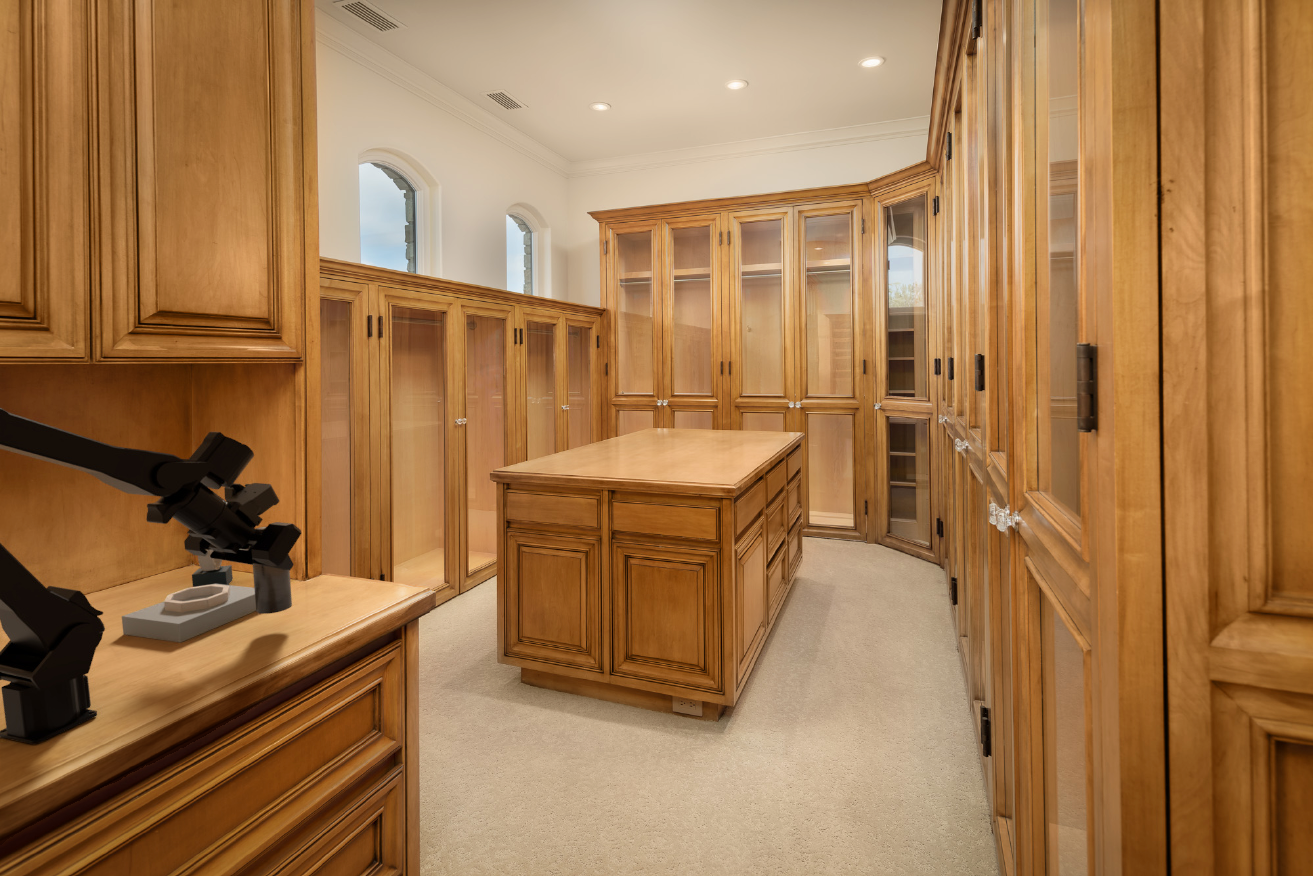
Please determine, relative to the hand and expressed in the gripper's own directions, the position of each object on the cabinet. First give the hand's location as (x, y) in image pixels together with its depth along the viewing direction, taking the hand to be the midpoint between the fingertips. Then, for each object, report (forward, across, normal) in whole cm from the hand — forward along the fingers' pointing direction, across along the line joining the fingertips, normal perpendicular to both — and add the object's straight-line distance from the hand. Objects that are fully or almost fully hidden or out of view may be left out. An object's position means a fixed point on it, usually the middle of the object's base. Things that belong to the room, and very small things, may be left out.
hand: (279, 565), depth 104 cm
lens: (+4, 0, +6) cm, 7 cm away
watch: (+15, +31, 0) cm, 34 cm away
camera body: (+5, +16, +9) cm, 19 cm away
